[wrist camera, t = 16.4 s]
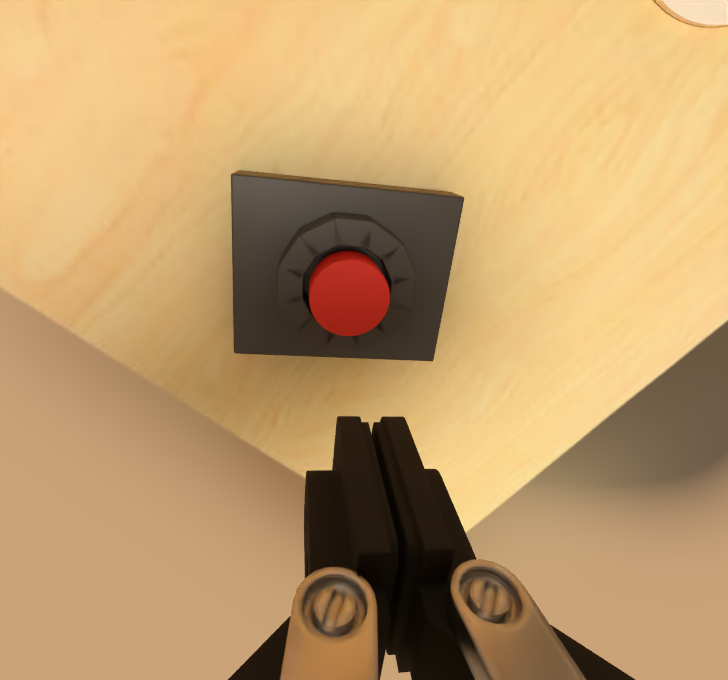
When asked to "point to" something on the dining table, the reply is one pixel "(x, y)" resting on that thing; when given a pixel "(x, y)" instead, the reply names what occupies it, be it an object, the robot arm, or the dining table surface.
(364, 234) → the push button box
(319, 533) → the robot arm
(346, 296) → the stop button
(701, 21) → the panda figurine
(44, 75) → the dining table surface
